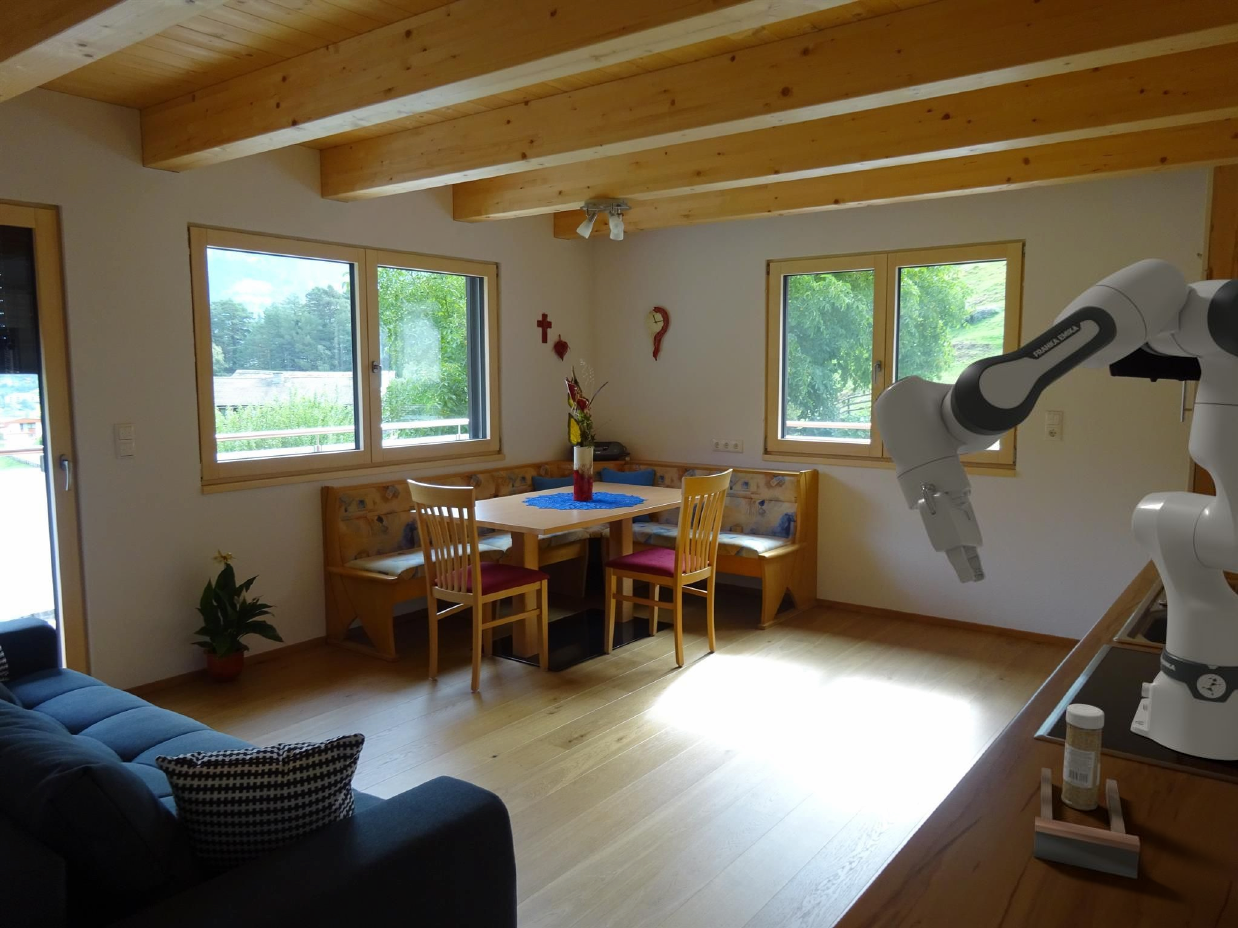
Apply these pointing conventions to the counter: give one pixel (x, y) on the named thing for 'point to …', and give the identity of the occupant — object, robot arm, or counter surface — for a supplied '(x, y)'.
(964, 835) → the counter surface
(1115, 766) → the counter surface
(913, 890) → the counter surface
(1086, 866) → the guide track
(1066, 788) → the sprinkles bottle
